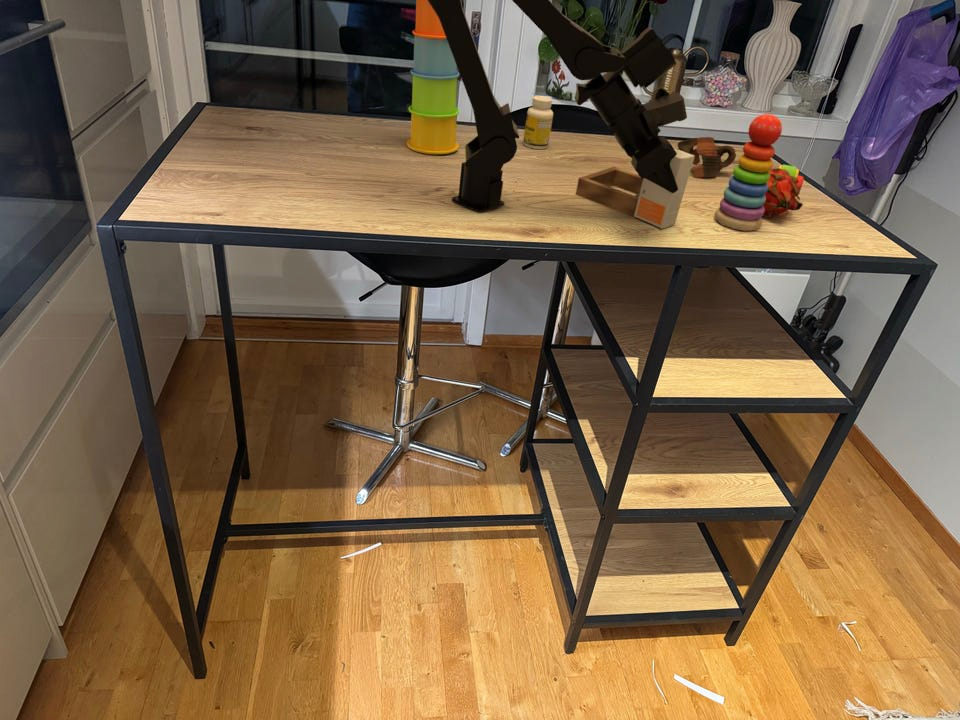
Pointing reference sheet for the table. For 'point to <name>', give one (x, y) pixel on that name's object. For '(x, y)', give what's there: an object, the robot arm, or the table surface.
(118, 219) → the table surface
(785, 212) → the dragon fruit
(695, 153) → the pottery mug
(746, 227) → the stacking toy
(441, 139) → the stacking cups
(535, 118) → the supplement bottle
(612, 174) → the square wooden frame
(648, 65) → the robot arm
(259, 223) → the table surface
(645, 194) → the skincare box
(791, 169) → the toy measuring tape
